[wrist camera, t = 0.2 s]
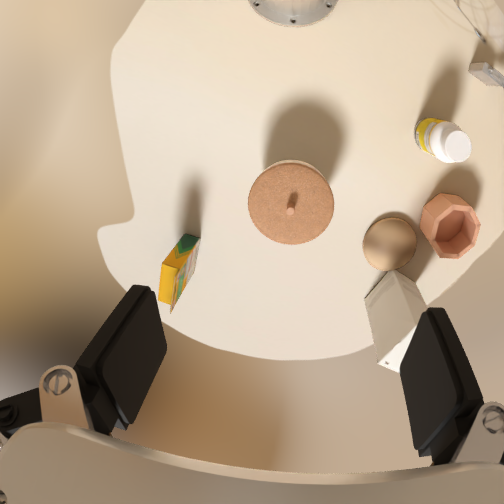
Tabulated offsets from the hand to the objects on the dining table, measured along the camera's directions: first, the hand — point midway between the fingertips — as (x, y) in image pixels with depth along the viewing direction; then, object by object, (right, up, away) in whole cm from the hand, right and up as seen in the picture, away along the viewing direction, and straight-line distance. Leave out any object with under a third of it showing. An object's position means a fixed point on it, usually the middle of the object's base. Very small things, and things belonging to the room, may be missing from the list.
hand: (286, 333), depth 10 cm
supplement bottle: (+24, +20, +27) cm, 41 cm away
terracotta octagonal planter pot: (+30, +8, +32) cm, 45 cm away
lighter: (+34, +29, +20) cm, 49 cm away
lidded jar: (+5, +12, +35) cm, 37 cm away
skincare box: (+23, -4, +40) cm, 46 cm away
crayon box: (-12, +3, +43) cm, 44 cm away
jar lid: (+21, +4, +36) cm, 42 cm away
